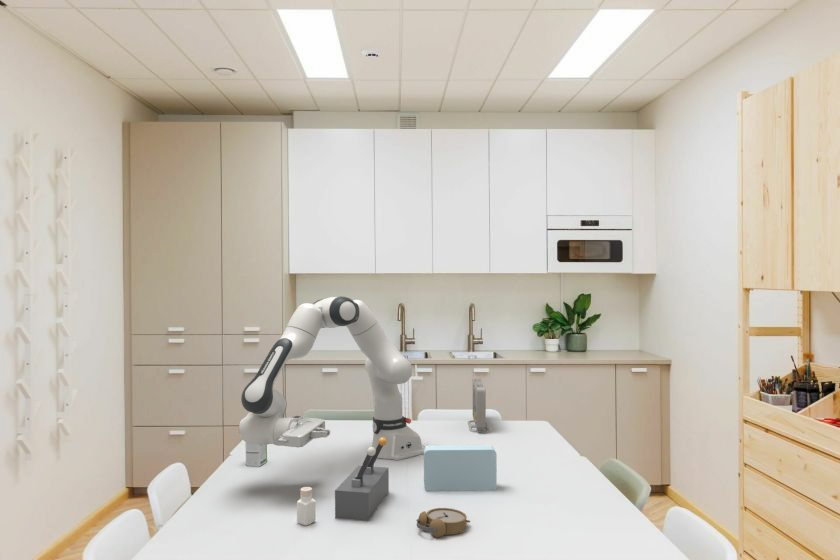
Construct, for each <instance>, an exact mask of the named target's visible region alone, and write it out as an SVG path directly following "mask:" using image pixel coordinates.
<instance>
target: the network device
mask: <svg viewBox="0 0 840 560" xmlns="http://www.w3.org/2000/svg"><path fill="white" fill-rule="evenodd" d="M486 393H487V392H486V386H485V385H484V383H483V381H482V379H481V378H472V418H473V420H471V419H470V420H468V421H467V425H468V428H469V429H468V430H469V432H472V433H489V432H490V428H489V427H490V426H489V425H488V422H487V417H486V415H487V414H486V412H487V411H486V410H487V409H486V408H487V406H486V403H487V400H486V399H487V398H486V397H487V396H486V395H487V394H486ZM471 423H474V424H471Z"/></svg>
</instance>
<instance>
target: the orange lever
mask: <svg viewBox="0 0 840 560" xmlns="http://www.w3.org/2000/svg"><path fill="white" fill-rule="evenodd" d="M386 443H387V440H386V438H384V437H381V438H380V439H379V444H378V446H377V448H376V453H375V455H373V456H372V458H371V460H370V462H369V464H368V466H367V467H371V468H372V467H373V465H375V463H376V461H377V459H378V458H377V457H378V455H379V453H380V451H381V449H382V447H383V446H384V445H386Z"/></svg>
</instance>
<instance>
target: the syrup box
mask: <svg viewBox="0 0 840 560" xmlns="http://www.w3.org/2000/svg"><path fill="white" fill-rule="evenodd" d="M244 442H245V441H244ZM267 462H268V445H259V444H251V443H247V442H245V466H247V467H255V466H256V467H261V466H263V465H264V464H266V463H267Z"/></svg>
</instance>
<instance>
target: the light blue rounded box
mask: <svg viewBox="0 0 840 560" xmlns="http://www.w3.org/2000/svg"><path fill="white" fill-rule="evenodd" d="M497 455H498V454H497V452H496V450H495V448H494V446H493V445H490V444H485V445H484V444H481V445H479V444H476V445H475V444H474V445H473V444H472V445H470V444H468V445H466V444H465V445H461V444H460V445H459V444H457V445H455V444H453V445H450V444H449V445H427V446H425V448H424V454H423V483H424V484H423V488H424V490H425V491H427V492H474V491H475V492H479V491H480V492H485V491H486V492H489V491H490V492H491V491H495V490H496V489H497V483H498V481H497V478H498V477H497V476H498V475H497V472H498V471H497V461H498V460H497Z"/></svg>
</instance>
